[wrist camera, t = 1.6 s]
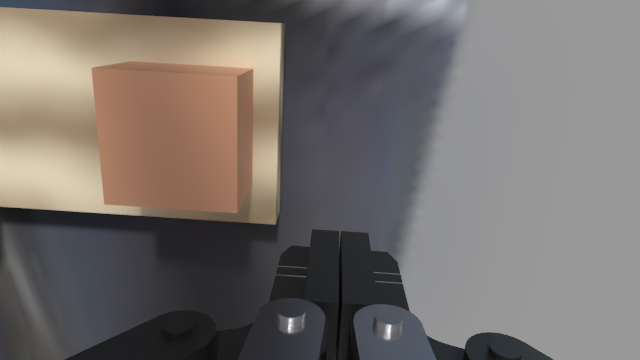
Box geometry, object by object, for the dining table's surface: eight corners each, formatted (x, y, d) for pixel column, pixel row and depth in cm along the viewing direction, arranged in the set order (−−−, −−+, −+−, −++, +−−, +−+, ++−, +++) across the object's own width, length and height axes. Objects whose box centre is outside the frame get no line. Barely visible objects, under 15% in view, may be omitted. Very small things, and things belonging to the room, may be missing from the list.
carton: (130, 61, 27) (91, 67, 23) (253, 68, 27) (237, 76, 22) (138, 178, 29) (104, 204, 25) (252, 185, 29) (237, 213, 25)
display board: (-181, -4, 28) (-285, -10, 24) (285, 23, 28) (274, 23, 23) (-132, 186, 32) (-214, 213, 27) (279, 212, 32) (269, 245, 27)
